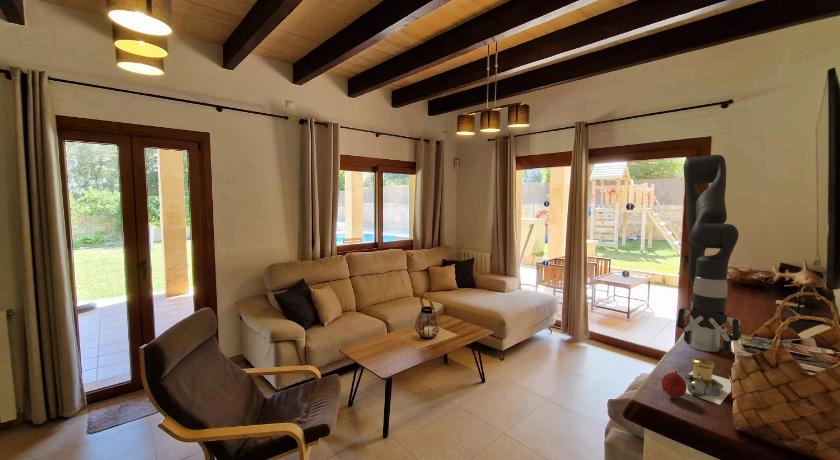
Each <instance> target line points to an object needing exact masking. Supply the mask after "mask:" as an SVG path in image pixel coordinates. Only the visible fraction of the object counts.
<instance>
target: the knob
mask: <svg viewBox="0 0 840 460" xmlns="http://www.w3.org/2000/svg"><path fill="white" fill-rule="evenodd" d="M691 363H692V365H693V367H692V368H693V370H692V371H693V381H694V380H698V381H701V382H702V383H704V385H705V386H706V387H711V385H712V375H713V370H714V368H715V362H714V361H712V360H710V359H707V358H705V357H704V358H703V357H693V358H692V361H691Z"/></svg>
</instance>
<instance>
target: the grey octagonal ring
mask: <svg viewBox="0 0 840 460" xmlns="http://www.w3.org/2000/svg"><path fill="white" fill-rule="evenodd" d="M683 378H684V381H685V383H686V386H687V388H688V391H689V392H690V393H691V394H692V395H691V394H690V395H691V396H693V395H694V397H696V396H697V398H699V396H702V395H706V396H720V395H721V394H722V393H723V385H722V384H721V383H719V382H718V381H716V380H715V379H712V385H711V387H706V386H705V385H704V383H702V382H701V381H698V380H694V381H693V375H690V374H689V373H688V374H686V375H685V376H684V377H683Z"/></svg>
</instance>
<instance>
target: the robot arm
mask: <svg viewBox="0 0 840 460" xmlns="http://www.w3.org/2000/svg"><path fill="white" fill-rule="evenodd" d="M683 176H684V177H683V178H684V186H685V196H686V223H687V224H686V225H687V239H688V270H687V271H688V273H687V275H688V280H689V281H690V283H692V284H693V287H692V291H693V292H692V293H693V294H692V295H691V303H690V309H688V308H686V307H684V306H683V307H681V308H679V310H678V314H677V321H676V322H677V323H676V326H677V328H678V329H681V330H682V331H684V335H683V340H684V342H686V345H688V346H689V347H691V348H693V349H695V350H700V351H702V352H703V351H704V352H710V353H711V352H712V353H715V352H716V353H717V352H719V351H720V344H721V343H720V340H721V337H722V338H723V344H722V354H728V353H730V351H731V350H732V342H734V341H736V342H737V341H740V339H741V337H742V336H741V331H742V330H741V329H742V328H741V324H742V323H741V318H740V317H729V316H728V315H727V314H726V313H727V299H728V268H729V267H728V265H729V262H730V258H731V255H732V254H733V251H734V248H735V247H736V245H737V243H738V241H739V235H740V234H739V231H738V229H737V227H736V226H735V225H734V224H732V223H726V222H727V219H728V218H727V217H728V216H727V207H726V189H727V163H726V158H725V157H724V156H723V155H722V154H709V155H702V156H694V157H688V158H686V159H685V161H684V163H683ZM704 184H705V185H706V184H710V185H709V186H708V187H707V188H706V189H705V190H704V191H702V193H701V192H700V190H699V188H698V186H697V185H704ZM707 249H719V250H718V252H717V253H715V254H711V255H703V253H704V252H705V251H706V250H707ZM702 255H703V256H702ZM689 314H690V316H689ZM687 316H689V317H690V318H689V320H690V321H689V323H688V324H685V322H686V317H687ZM726 322H728V323H729V325H730V326H731V327H732V334H730V332H729V331H728V328H726V326H725V325H724V324H725V323H726Z"/></svg>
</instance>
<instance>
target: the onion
mask: <svg viewBox="0 0 840 460" xmlns="http://www.w3.org/2000/svg"><path fill="white" fill-rule="evenodd" d="M683 378H684V377H682V376H681V375H679V374H678V371H677V369H673V370H672V371H671V372H670V373H667V374H665V375H664V376H663V377H662V379H661V387H662V390H663V391H664V392H665V394H667V395H668V397H670V398H672V399H676V398H680V397H681V396H684V395H685V394H686V393H685V392H686V390H687V386H686V383H685V381H684V379H683Z"/></svg>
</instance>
